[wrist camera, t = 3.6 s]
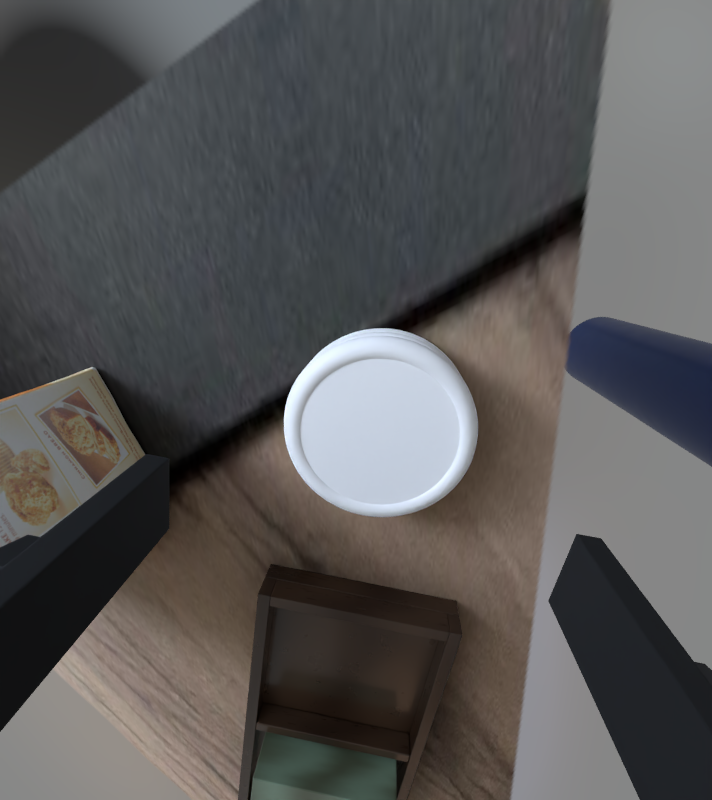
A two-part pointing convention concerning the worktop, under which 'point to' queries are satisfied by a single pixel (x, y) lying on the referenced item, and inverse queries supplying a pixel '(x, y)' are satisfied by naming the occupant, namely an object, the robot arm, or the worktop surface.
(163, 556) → the worktop surface
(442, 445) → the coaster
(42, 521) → the coffeecake box
